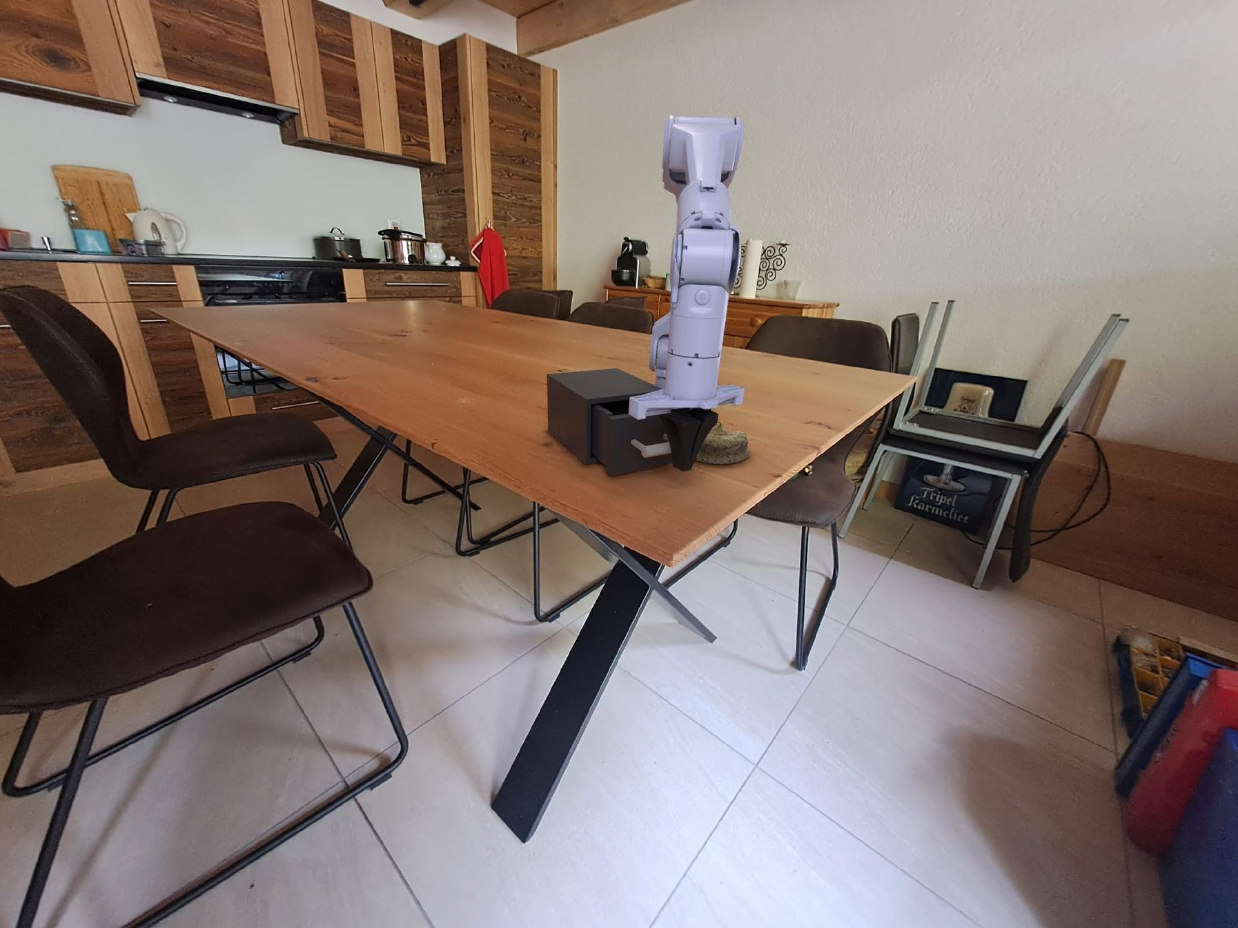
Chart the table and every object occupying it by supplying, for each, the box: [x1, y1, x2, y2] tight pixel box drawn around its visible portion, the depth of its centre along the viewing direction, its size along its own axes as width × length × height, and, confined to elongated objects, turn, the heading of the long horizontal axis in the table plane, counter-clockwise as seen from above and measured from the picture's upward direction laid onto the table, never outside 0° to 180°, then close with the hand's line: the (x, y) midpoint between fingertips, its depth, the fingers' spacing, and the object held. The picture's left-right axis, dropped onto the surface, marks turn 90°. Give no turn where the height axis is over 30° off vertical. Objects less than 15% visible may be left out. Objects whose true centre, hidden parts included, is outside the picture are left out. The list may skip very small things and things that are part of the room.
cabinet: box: [546, 367, 662, 466], centre depth 73 cm, size 15×13×10 cm
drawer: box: [590, 400, 673, 477], centre depth 66 cm, size 18×11×8 cm, turn 29°
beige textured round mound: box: [695, 419, 750, 465], centre depth 71 cm, size 10×10×5 cm
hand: (682, 467), depth 56 cm, fingers closed
